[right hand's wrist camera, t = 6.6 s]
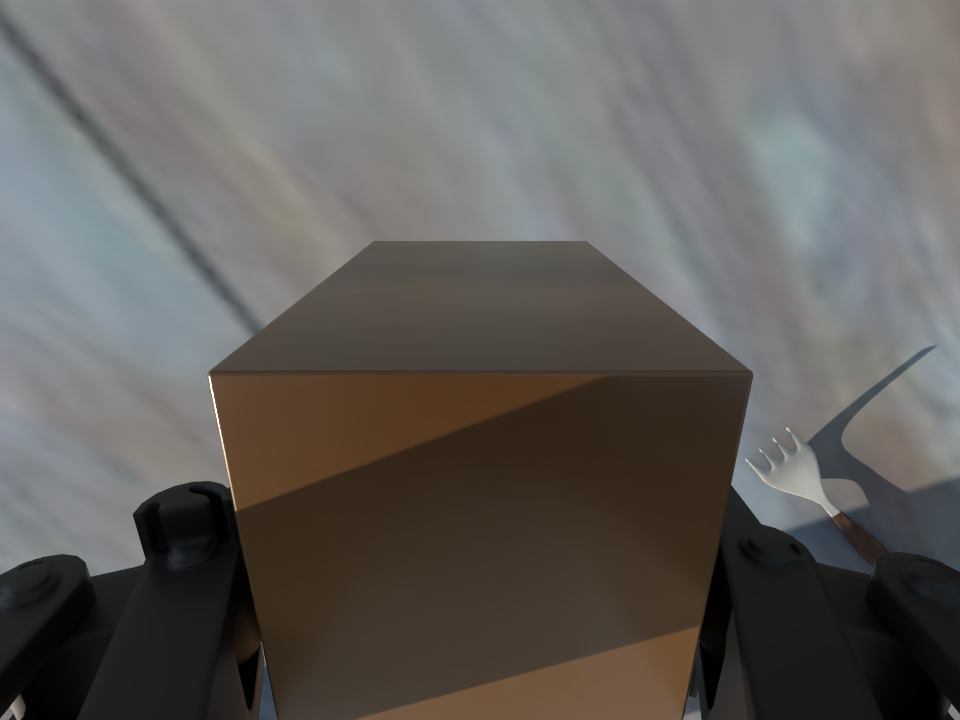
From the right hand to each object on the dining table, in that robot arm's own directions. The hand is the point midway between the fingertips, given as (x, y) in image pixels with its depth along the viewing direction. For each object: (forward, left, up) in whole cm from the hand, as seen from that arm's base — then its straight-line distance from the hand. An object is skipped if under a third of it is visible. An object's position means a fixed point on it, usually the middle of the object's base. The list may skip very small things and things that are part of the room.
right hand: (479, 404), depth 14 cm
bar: (+6, +3, -1) cm, 7 cm away
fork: (0, +21, -9) cm, 23 cm away
